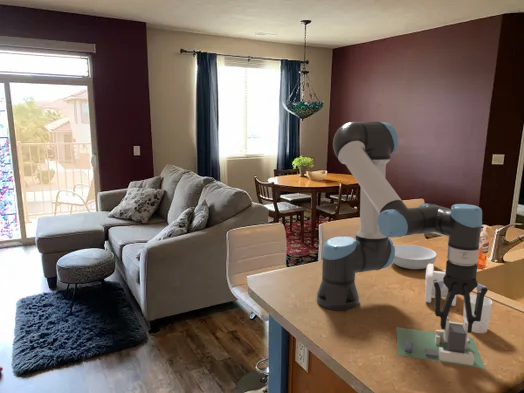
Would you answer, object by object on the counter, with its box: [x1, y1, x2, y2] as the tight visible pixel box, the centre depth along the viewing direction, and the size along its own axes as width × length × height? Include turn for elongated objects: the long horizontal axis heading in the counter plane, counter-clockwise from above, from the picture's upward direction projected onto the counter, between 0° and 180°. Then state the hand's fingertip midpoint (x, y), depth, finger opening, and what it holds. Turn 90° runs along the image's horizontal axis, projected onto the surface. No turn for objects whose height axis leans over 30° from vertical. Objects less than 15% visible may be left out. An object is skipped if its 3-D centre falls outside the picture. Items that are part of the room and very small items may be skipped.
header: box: [434, 329, 474, 365], centre depth 112 cm, size 8×11×4 cm
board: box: [395, 326, 486, 370], centre depth 115 cm, size 22×16×3 cm
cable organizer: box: [424, 263, 458, 307], centre depth 146 cm, size 15×11×12 cm
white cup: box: [462, 293, 493, 334], centre depth 125 cm, size 8×8×10 cm
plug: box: [445, 320, 466, 354], centre depth 111 cm, size 4×6×7 cm, turn 163°
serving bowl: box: [392, 244, 437, 270], centre depth 180 cm, size 21×21×7 cm
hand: (454, 340), depth 111 cm, fingers closed on plug, 4 cm apart
